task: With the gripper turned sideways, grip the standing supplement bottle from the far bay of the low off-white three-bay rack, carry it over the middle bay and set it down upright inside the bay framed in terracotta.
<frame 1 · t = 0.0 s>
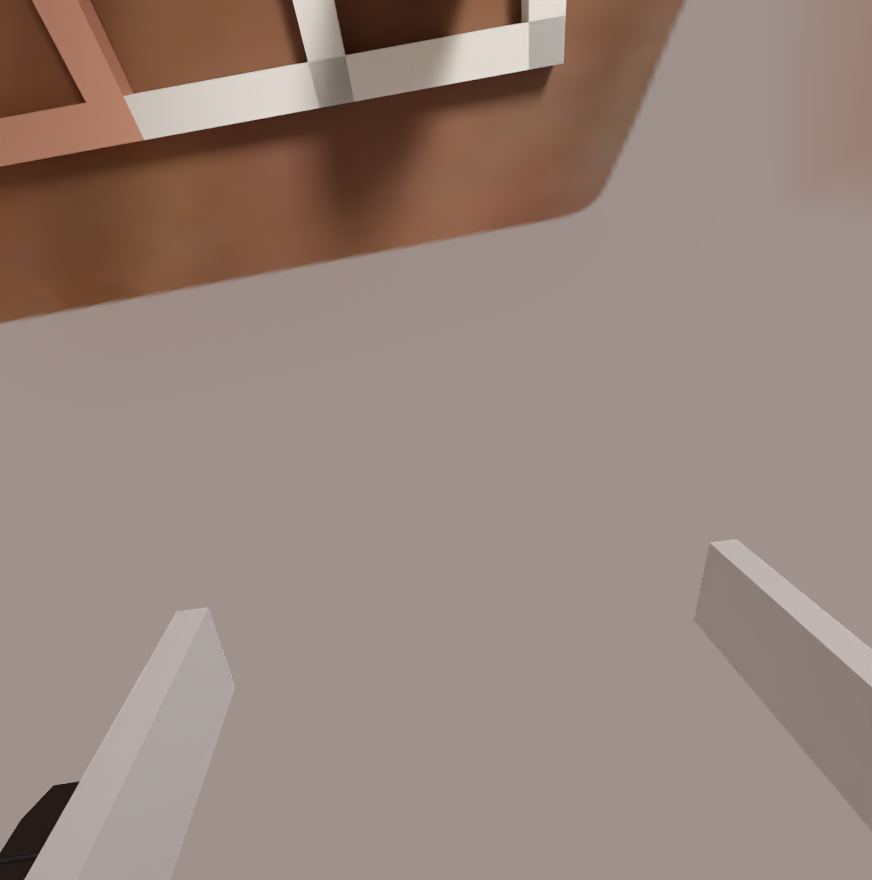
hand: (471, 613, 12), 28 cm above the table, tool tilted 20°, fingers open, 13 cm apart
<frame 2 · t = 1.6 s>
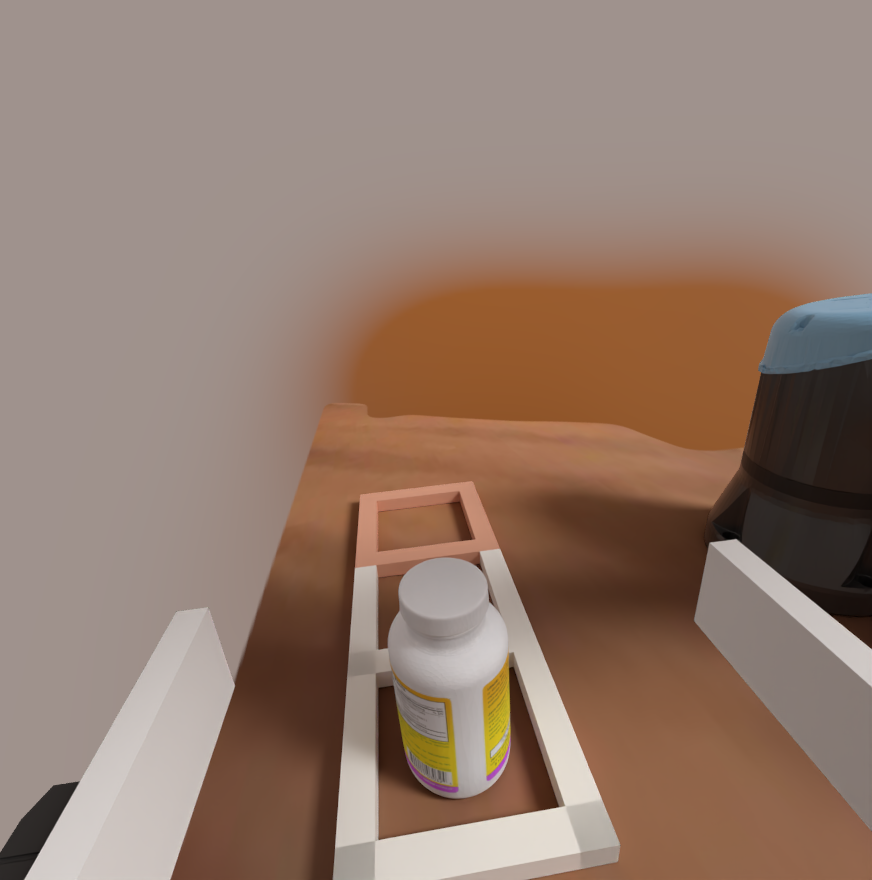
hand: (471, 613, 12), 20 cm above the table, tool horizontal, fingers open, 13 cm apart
rack: (435, 607, 40), on the table
supplement bottle: (457, 747, 29), resting in rack
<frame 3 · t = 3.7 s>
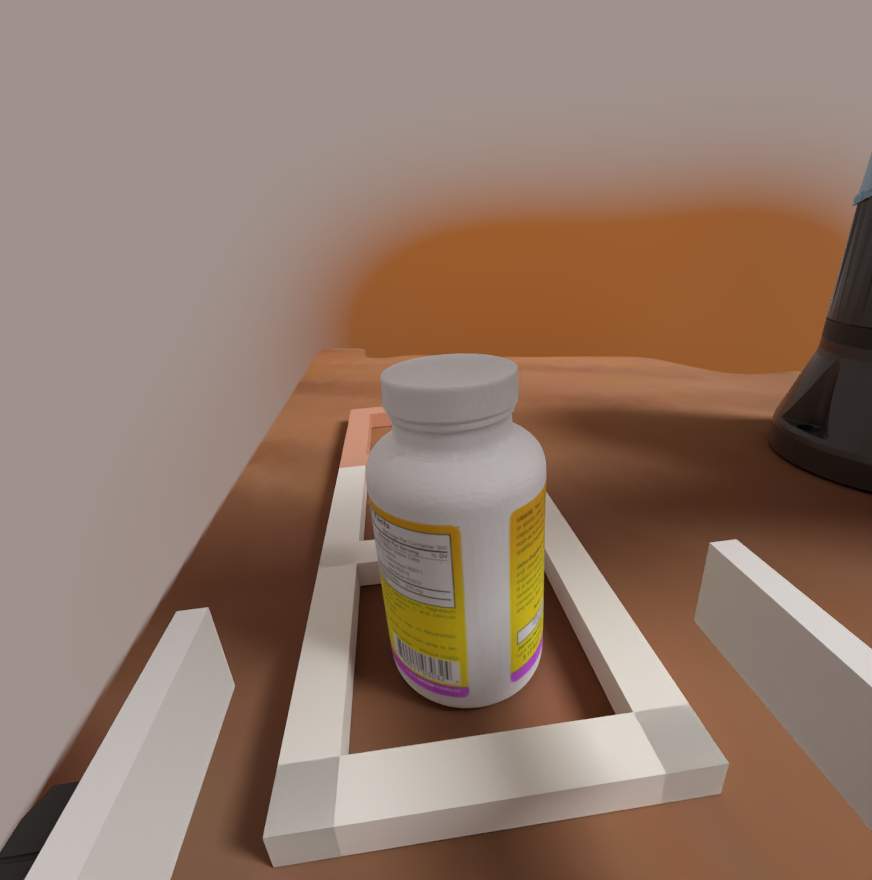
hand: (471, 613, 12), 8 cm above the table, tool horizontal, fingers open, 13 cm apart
rack: (437, 508, 31), on the table
supplement bottle: (465, 650, 21), resting in rack
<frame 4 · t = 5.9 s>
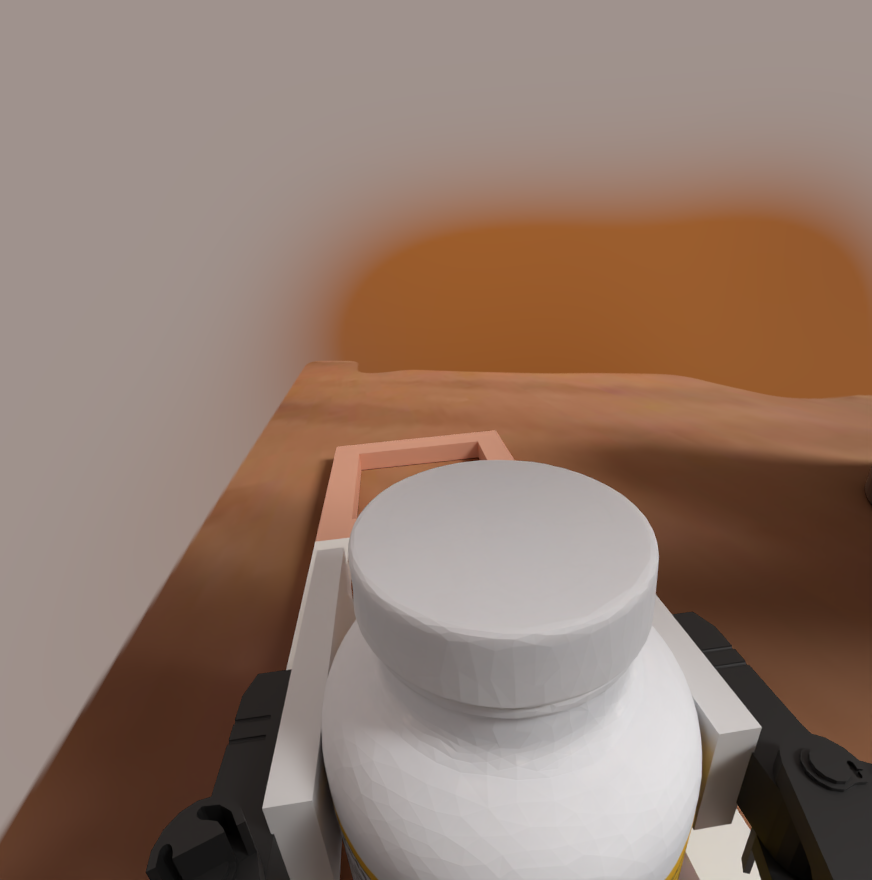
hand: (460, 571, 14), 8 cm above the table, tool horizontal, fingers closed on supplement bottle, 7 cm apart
rack: (446, 607, 23), on the table
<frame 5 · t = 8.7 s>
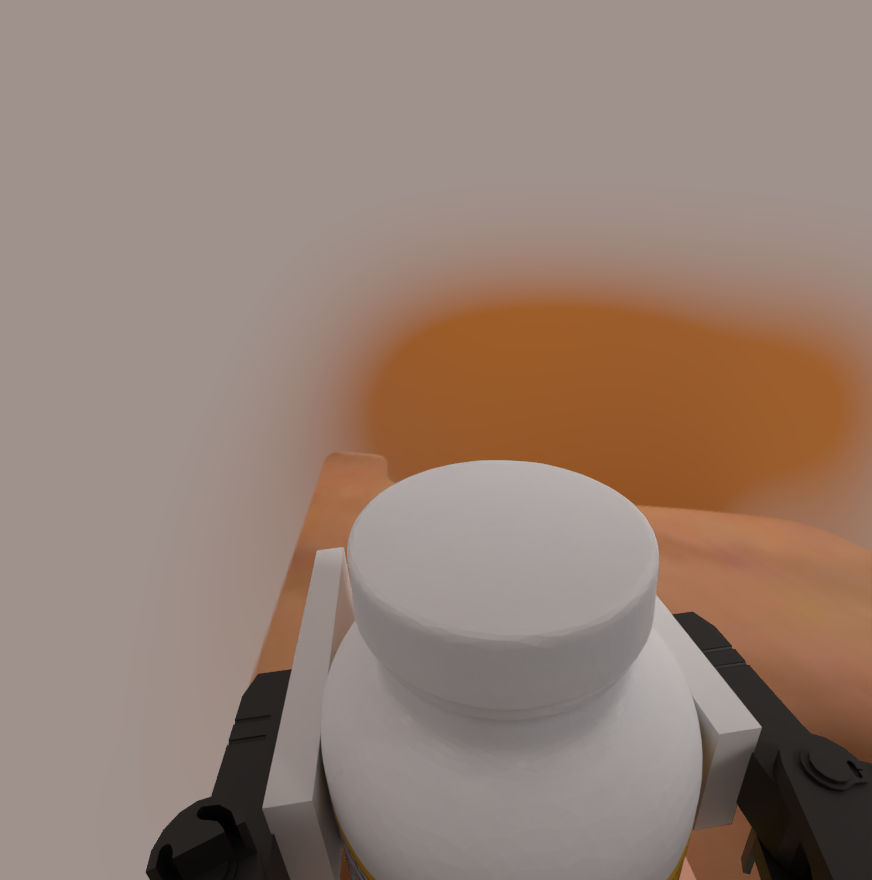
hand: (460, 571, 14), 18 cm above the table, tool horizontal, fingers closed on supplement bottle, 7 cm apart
when the fingers open (9 cm above the table, at t = 11.6 s): supplement bottle drops 1 cm, resting in rack.
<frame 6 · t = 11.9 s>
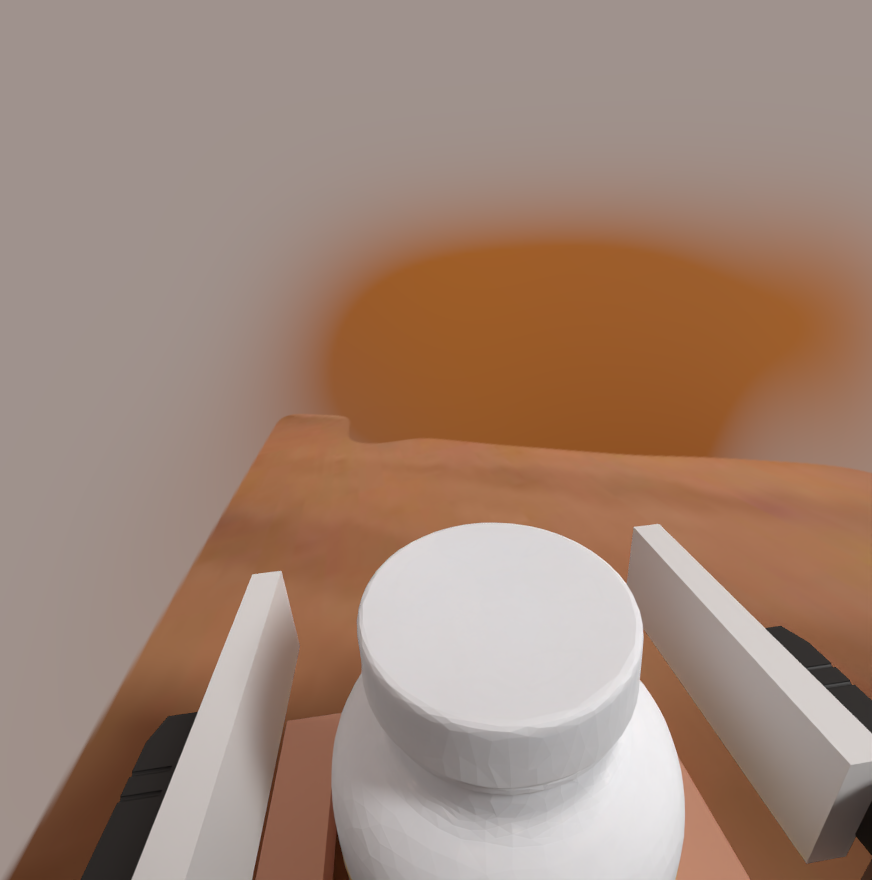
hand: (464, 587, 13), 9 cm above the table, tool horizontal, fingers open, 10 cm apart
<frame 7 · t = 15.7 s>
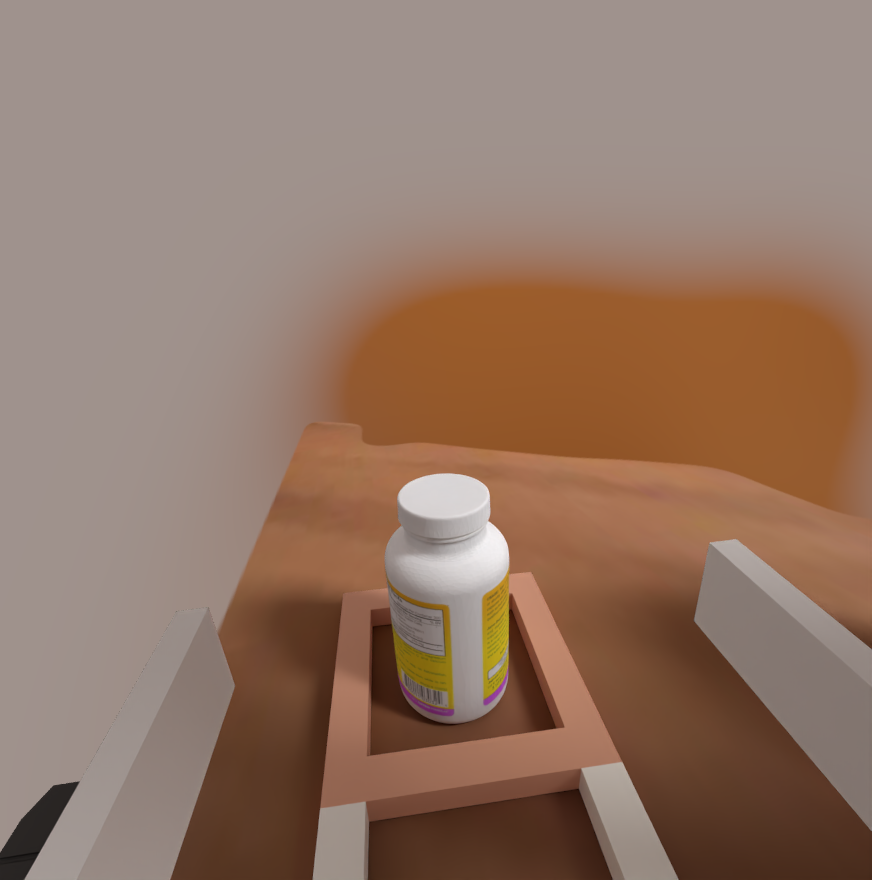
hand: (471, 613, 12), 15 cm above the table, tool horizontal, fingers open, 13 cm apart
supplement bottle: (452, 680, 28), resting in rack
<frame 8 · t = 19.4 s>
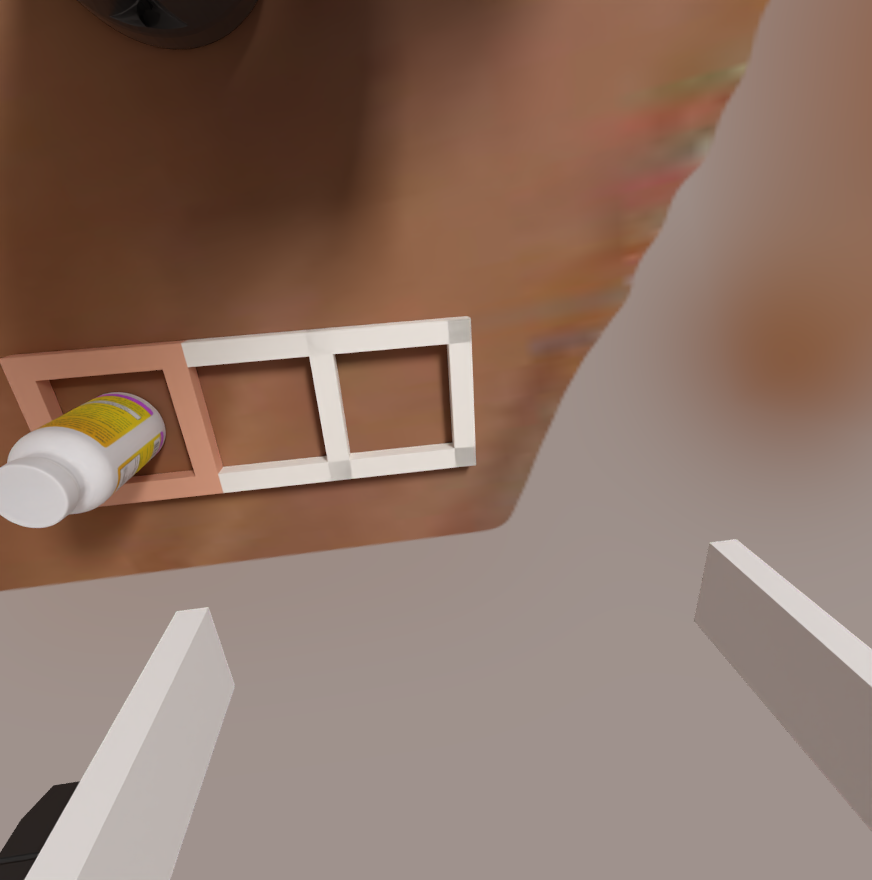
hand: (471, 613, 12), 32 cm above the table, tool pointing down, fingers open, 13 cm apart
rack: (265, 411, 42), on the table
supplement bottle: (130, 425, 41), resting in rack
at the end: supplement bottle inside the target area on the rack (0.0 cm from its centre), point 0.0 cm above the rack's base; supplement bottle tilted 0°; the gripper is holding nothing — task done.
